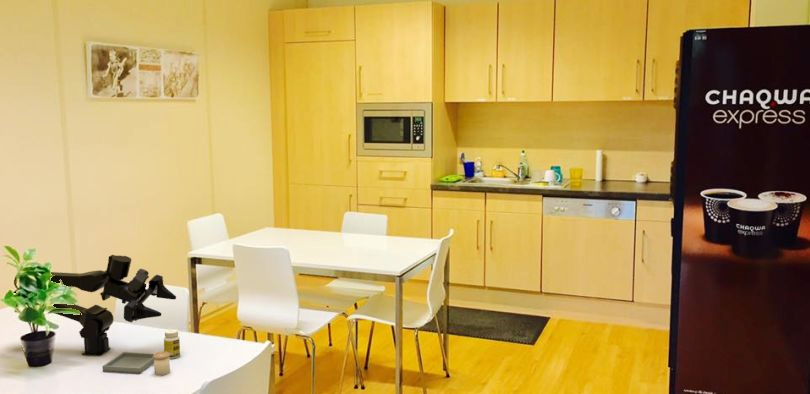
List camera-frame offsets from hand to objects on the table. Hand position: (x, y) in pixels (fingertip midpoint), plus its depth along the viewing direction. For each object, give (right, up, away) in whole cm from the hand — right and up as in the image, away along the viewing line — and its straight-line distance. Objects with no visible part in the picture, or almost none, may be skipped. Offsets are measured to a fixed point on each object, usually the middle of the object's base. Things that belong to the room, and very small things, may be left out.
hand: (168, 306), depth 223 cm
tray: (-10, -17, -5) cm, 21 cm away
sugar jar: (+2, -18, -11) cm, 21 cm away
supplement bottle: (0, -17, +2) cm, 17 cm away
